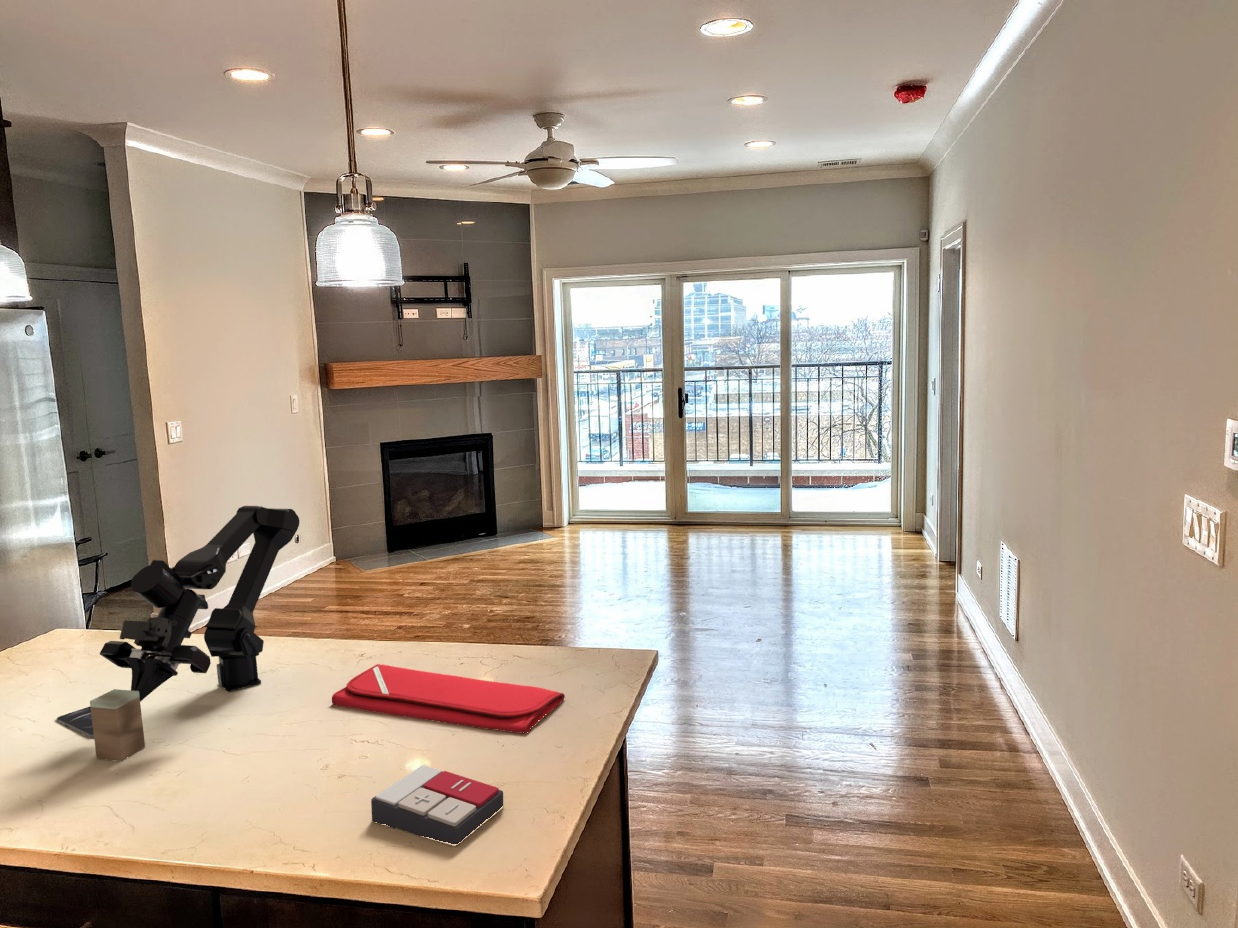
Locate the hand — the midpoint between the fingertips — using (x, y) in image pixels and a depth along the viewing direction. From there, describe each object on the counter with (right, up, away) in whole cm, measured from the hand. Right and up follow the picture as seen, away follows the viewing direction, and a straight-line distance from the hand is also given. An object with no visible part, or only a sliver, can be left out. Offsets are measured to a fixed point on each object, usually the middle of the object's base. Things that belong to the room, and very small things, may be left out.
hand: (133, 703), depth 147 cm
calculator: (+57, -9, -25) cm, 63 cm away
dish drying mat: (+51, -4, +14) cm, 53 cm away
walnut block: (-1, -8, -2) cm, 8 cm away
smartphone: (-13, -7, +11) cm, 18 cm away
